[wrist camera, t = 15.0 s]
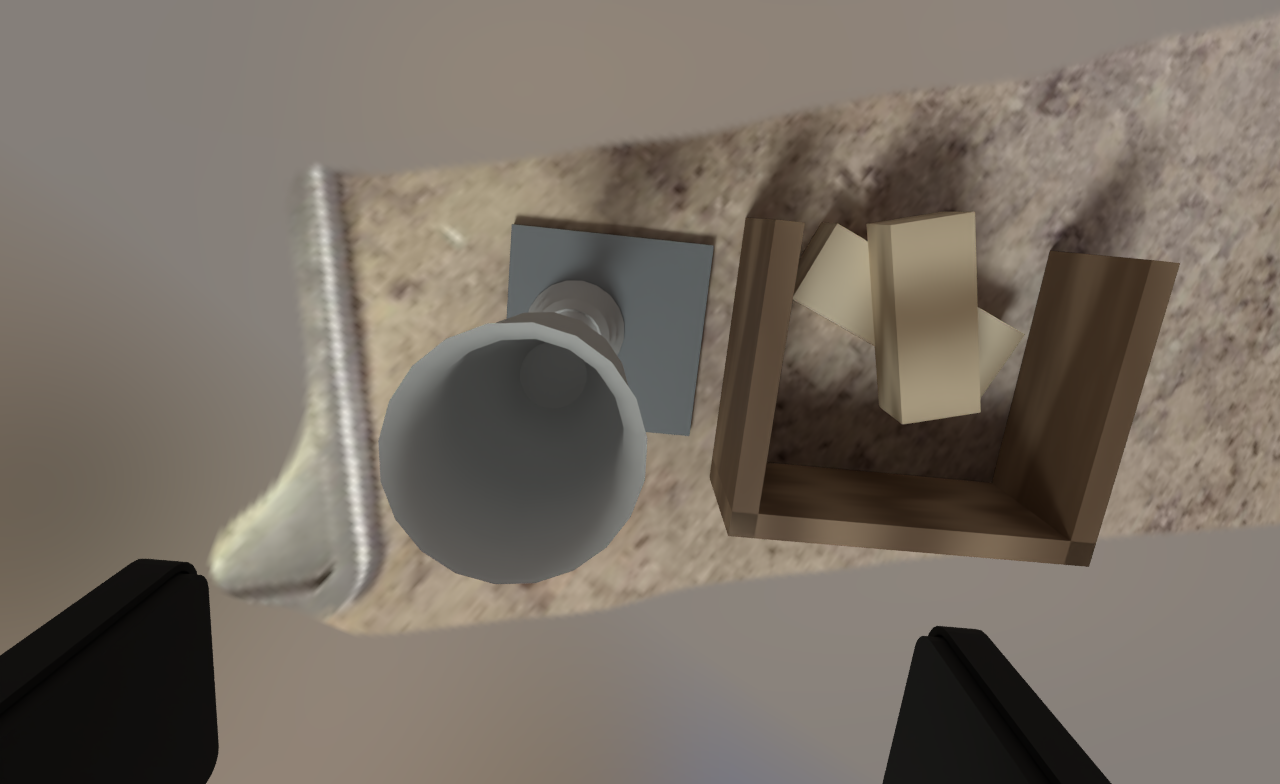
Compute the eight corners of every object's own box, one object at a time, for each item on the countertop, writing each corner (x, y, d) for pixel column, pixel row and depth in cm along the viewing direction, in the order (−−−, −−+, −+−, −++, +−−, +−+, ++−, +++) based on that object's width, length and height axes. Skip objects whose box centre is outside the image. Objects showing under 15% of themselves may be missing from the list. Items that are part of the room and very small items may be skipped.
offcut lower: (992, 324, 36) (1024, 334, 34) (949, 388, 37) (976, 403, 34) (819, 222, 35) (837, 223, 32) (778, 291, 36) (792, 298, 33)
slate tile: (712, 245, 35) (713, 245, 34) (688, 432, 37) (689, 436, 36) (513, 224, 34) (511, 224, 34) (503, 415, 37) (501, 418, 36)
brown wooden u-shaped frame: (1072, 253, 35) (1179, 263, 28) (1007, 504, 39) (1088, 566, 32) (745, 217, 34) (775, 219, 27) (709, 477, 38) (728, 535, 31)
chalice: (545, 233, 34) (447, 270, 16) (667, 297, 34) (698, 398, 17) (484, 361, 35) (336, 519, 18) (601, 420, 36) (569, 624, 19)
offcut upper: (950, 395, 34) (980, 412, 31) (878, 406, 34) (902, 424, 31) (943, 211, 32) (975, 211, 29) (866, 223, 32) (890, 225, 29)
